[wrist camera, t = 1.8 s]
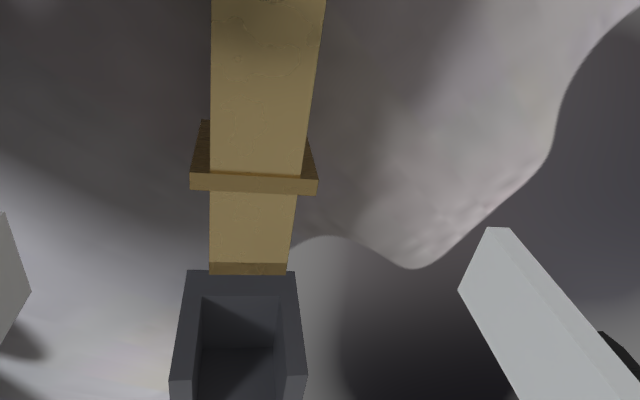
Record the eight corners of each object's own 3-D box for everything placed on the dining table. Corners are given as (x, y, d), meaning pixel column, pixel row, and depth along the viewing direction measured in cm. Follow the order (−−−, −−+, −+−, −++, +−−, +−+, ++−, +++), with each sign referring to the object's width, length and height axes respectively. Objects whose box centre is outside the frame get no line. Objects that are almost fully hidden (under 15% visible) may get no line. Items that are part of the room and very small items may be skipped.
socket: (189, 332, 40) (173, 444, 32) (187, 270, 36) (168, 380, 27) (284, 331, 42) (293, 435, 34) (294, 271, 38) (308, 375, 29)
